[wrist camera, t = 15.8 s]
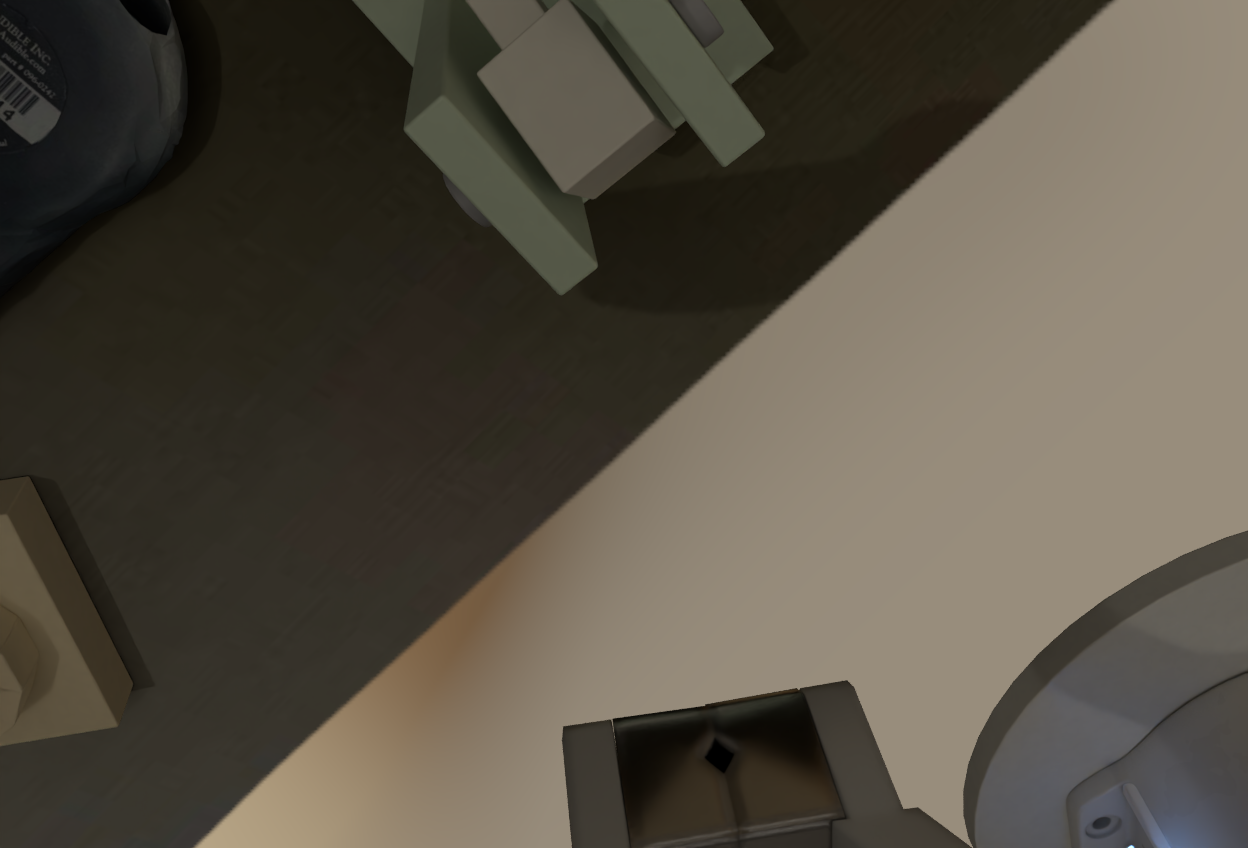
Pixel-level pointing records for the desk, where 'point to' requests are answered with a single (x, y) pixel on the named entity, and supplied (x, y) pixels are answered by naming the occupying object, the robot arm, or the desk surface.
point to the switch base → (501, 159)
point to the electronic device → (81, 116)
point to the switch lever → (569, 93)
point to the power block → (49, 632)
